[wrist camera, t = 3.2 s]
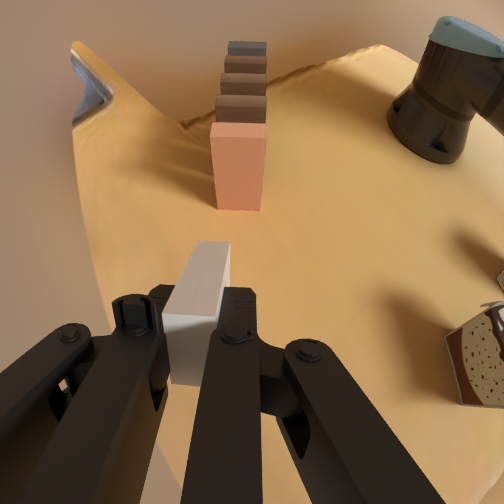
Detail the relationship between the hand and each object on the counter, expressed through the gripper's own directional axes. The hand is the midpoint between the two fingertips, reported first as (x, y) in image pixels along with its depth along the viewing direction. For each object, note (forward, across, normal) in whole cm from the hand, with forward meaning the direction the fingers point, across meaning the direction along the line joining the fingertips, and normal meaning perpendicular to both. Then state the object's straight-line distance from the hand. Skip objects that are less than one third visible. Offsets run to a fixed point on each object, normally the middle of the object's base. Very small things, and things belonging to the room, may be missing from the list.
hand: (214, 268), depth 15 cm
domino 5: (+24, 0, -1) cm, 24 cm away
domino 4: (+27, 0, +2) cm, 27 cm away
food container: (+9, +29, -16) cm, 35 cm away
